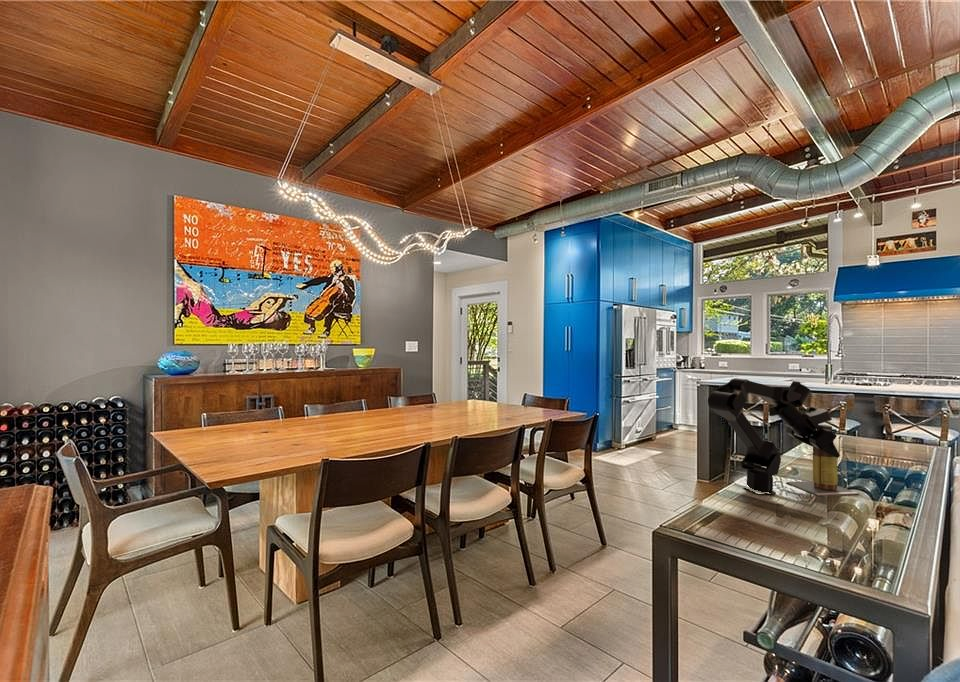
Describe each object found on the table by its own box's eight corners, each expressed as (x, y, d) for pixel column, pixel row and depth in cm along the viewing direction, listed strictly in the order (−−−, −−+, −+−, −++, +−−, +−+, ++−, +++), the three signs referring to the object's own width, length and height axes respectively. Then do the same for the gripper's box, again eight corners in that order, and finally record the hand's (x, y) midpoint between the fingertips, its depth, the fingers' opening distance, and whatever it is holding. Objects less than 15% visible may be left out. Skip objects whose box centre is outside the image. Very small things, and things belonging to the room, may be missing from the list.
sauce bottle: (841, 489, 142) (843, 426, 142) (831, 492, 139) (832, 428, 139) (817, 483, 148) (819, 423, 148) (807, 486, 145) (809, 424, 145)
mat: (818, 496, 137) (818, 494, 137) (786, 483, 149) (786, 481, 149) (858, 494, 139) (858, 493, 139) (823, 481, 151) (823, 480, 151)
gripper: (830, 404, 135) (870, 443, 133) (797, 396, 153) (832, 430, 152) (800, 429, 136) (840, 467, 135) (771, 417, 155) (806, 451, 153)
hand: (829, 452), depth 144 cm, fingers open, 9 cm apart
